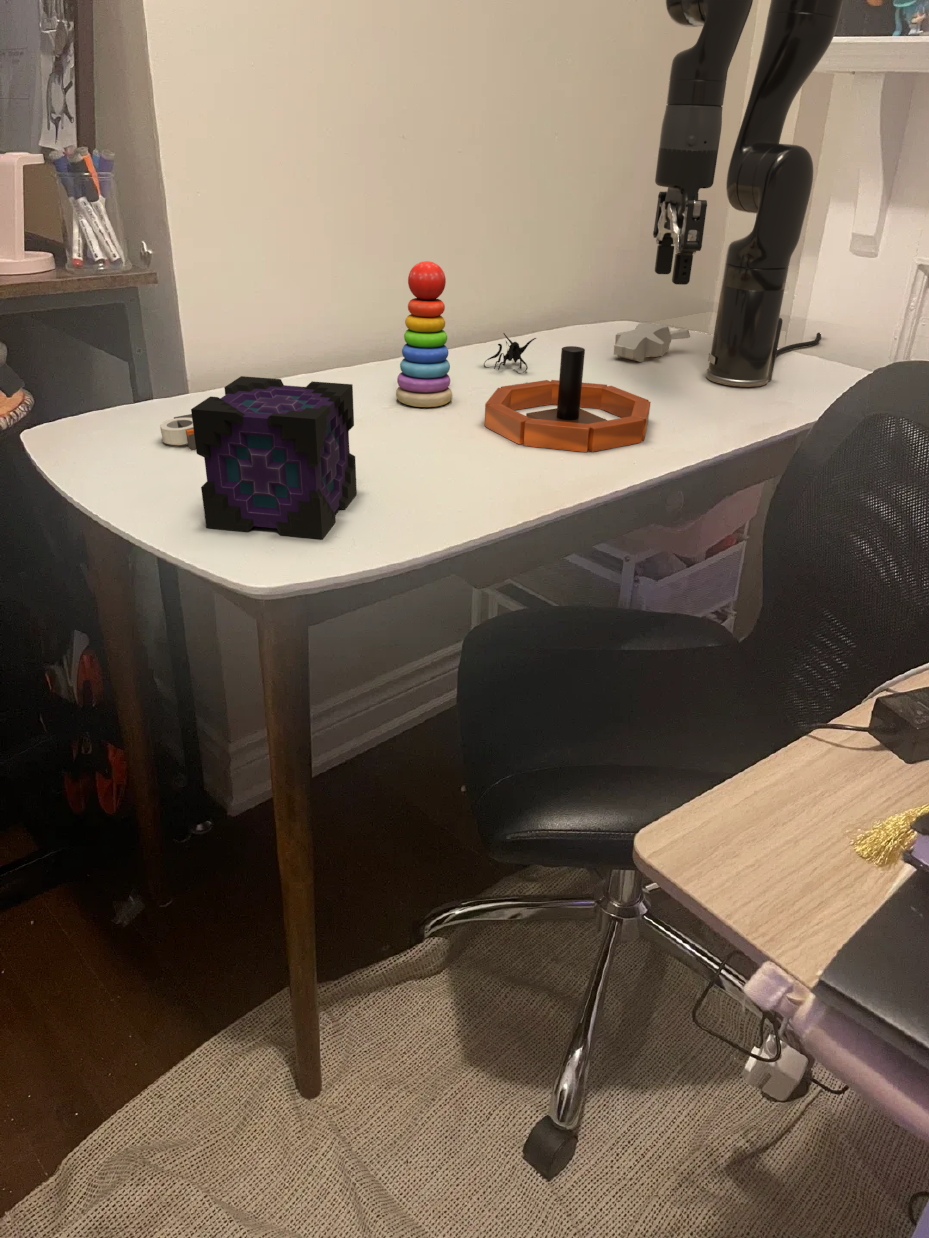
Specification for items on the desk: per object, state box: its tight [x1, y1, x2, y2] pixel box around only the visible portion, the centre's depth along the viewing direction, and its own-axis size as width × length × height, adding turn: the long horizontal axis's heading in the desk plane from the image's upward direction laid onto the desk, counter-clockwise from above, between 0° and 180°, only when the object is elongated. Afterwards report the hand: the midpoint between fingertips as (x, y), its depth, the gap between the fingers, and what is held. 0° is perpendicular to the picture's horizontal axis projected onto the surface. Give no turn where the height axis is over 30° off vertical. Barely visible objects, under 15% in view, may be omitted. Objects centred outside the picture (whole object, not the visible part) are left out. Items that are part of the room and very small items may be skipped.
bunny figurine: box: [613, 321, 691, 363], centre depth 155 cm, size 10×5×15 cm
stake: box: [525, 345, 609, 424], centre depth 119 cm, size 8×8×10 cm
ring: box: [484, 379, 651, 453], centre depth 121 cm, size 21×21×3 cm
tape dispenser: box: [159, 413, 196, 451], centre depth 113 cm, size 7×3×15 cm
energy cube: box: [190, 375, 358, 540], centre depth 91 cm, size 12×12×12 cm
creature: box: [483, 332, 537, 375], centre depth 145 cm, size 8×5×8 cm
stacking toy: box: [395, 260, 453, 408], centre depth 124 cm, size 8×8×19 cm
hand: (671, 278), depth 124 cm, fingers open, 8 cm apart
